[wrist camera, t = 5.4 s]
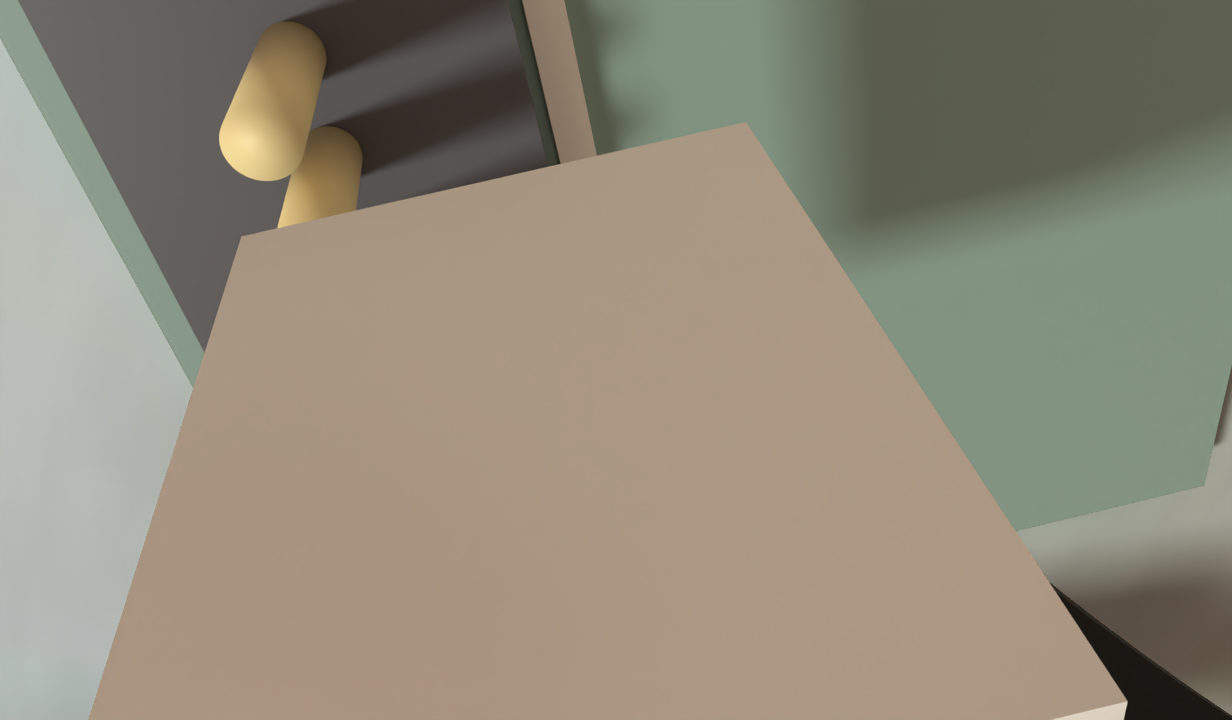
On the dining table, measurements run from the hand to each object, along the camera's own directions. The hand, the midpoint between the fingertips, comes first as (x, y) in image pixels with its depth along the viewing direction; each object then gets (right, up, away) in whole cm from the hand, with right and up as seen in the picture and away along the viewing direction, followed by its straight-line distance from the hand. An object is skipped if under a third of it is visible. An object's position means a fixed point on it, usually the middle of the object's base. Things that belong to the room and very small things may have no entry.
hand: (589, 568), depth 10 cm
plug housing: (0, +1, +1) cm, 1 cm away
